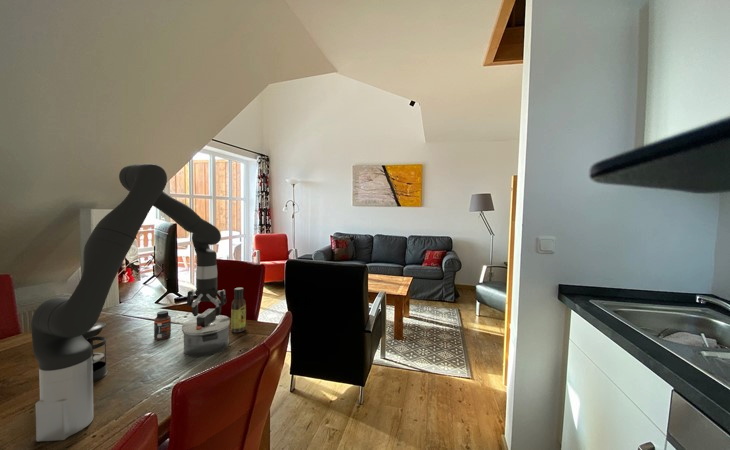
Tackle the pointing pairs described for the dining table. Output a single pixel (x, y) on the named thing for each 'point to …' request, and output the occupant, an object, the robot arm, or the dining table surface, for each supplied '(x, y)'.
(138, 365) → the dining table surface
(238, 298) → the sauce bottle
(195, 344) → the cooker pot
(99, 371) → the french press
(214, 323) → the cooker lid
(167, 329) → the supplement bottle
